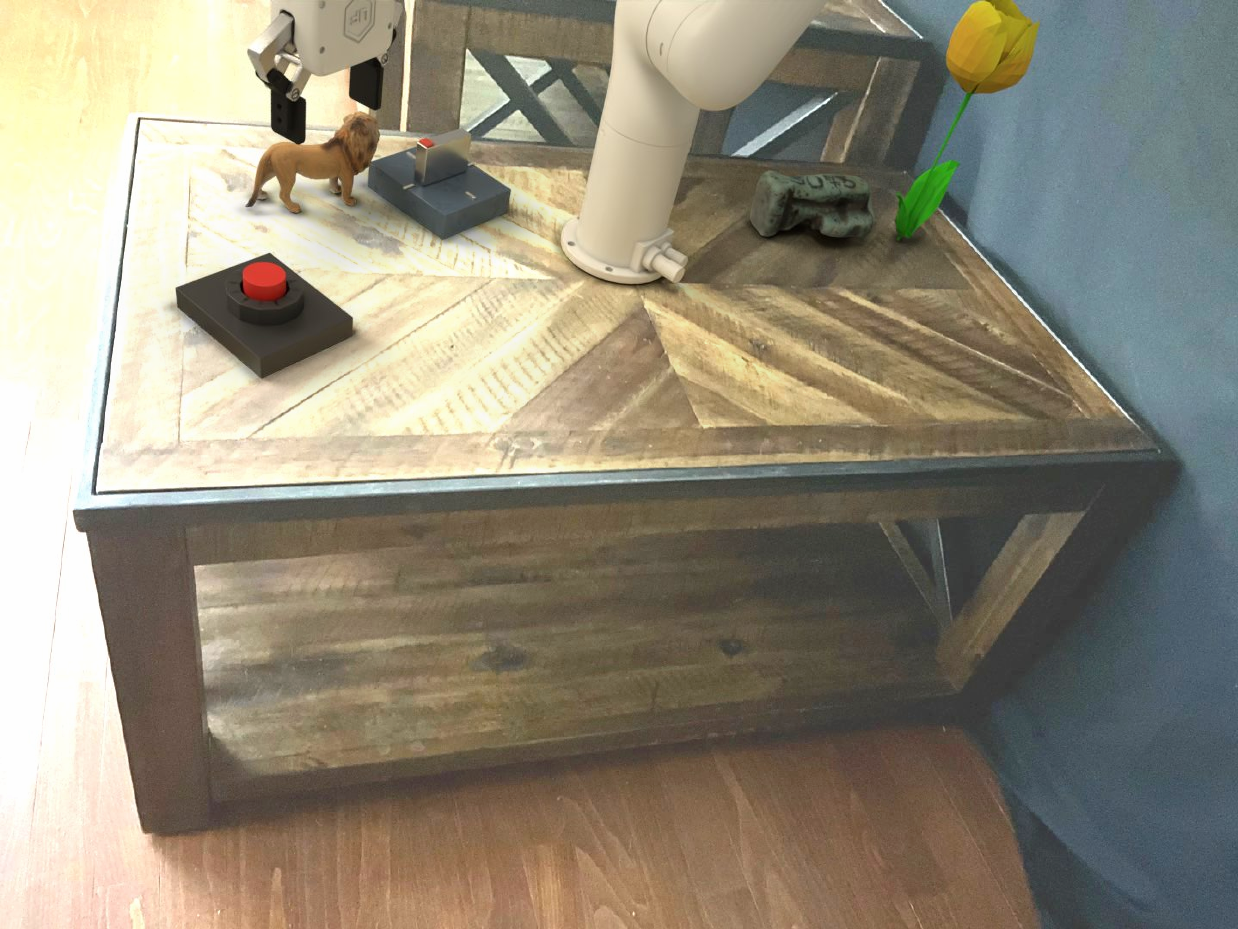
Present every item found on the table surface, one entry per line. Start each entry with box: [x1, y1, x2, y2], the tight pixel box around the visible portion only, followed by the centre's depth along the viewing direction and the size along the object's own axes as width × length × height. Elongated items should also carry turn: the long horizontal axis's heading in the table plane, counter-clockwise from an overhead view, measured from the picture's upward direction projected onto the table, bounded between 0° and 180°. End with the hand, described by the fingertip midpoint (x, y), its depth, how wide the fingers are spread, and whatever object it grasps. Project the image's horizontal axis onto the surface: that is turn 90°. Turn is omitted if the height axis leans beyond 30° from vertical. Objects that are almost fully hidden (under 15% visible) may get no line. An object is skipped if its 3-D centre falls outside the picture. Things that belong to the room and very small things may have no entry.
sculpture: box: [749, 170, 876, 238], centre depth 125 cm, size 12×8×15 cm
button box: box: [175, 252, 354, 379], centre depth 92 cm, size 12×10×4 cm
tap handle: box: [414, 127, 473, 186], centre depth 110 cm, size 6×2×5 cm, turn 140°
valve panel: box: [367, 146, 512, 240], centre depth 113 cm, size 12×11×3 cm
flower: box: [894, 0, 1041, 241], centre depth 120 cm, size 9×8×30 cm
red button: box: [243, 262, 286, 301], centre depth 90 cm, size 4×4×2 cm
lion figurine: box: [245, 110, 381, 214], centre depth 105 cm, size 15×5×9 cm, turn 129°
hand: (327, 119), depth 88 cm, fingers open, 9 cm apart
